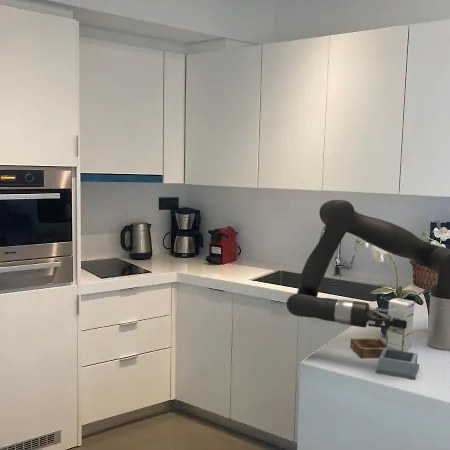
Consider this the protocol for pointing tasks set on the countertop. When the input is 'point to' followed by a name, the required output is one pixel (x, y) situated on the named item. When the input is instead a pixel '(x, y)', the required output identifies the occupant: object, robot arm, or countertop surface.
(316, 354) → the countertop surface
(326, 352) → the countertop surface
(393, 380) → the countertop surface
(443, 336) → the robot arm
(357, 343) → the shallow wooden tray
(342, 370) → the countertop surface
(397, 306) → the syrup box
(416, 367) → the socket
